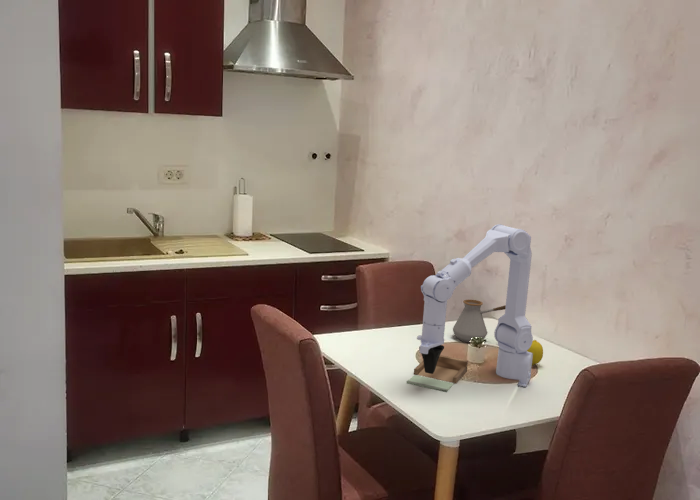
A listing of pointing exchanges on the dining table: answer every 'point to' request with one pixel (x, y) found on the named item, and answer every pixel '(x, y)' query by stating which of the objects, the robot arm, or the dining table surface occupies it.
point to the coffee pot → (472, 321)
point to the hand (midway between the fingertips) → (429, 372)
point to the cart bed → (445, 369)
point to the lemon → (536, 352)
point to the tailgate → (430, 383)
